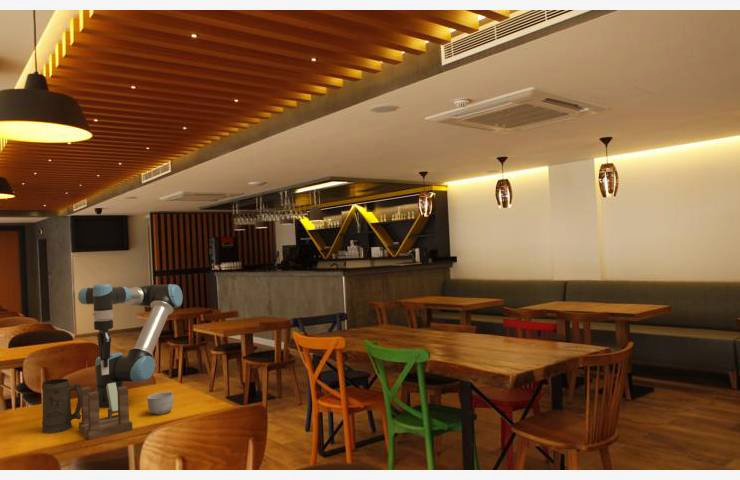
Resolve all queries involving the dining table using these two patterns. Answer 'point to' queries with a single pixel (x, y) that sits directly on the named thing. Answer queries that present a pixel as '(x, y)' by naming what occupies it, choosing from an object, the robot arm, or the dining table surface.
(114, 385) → the hinged leg
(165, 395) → the teacup
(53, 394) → the beer stein
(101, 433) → the wooden stand
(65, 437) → the dining table surface
